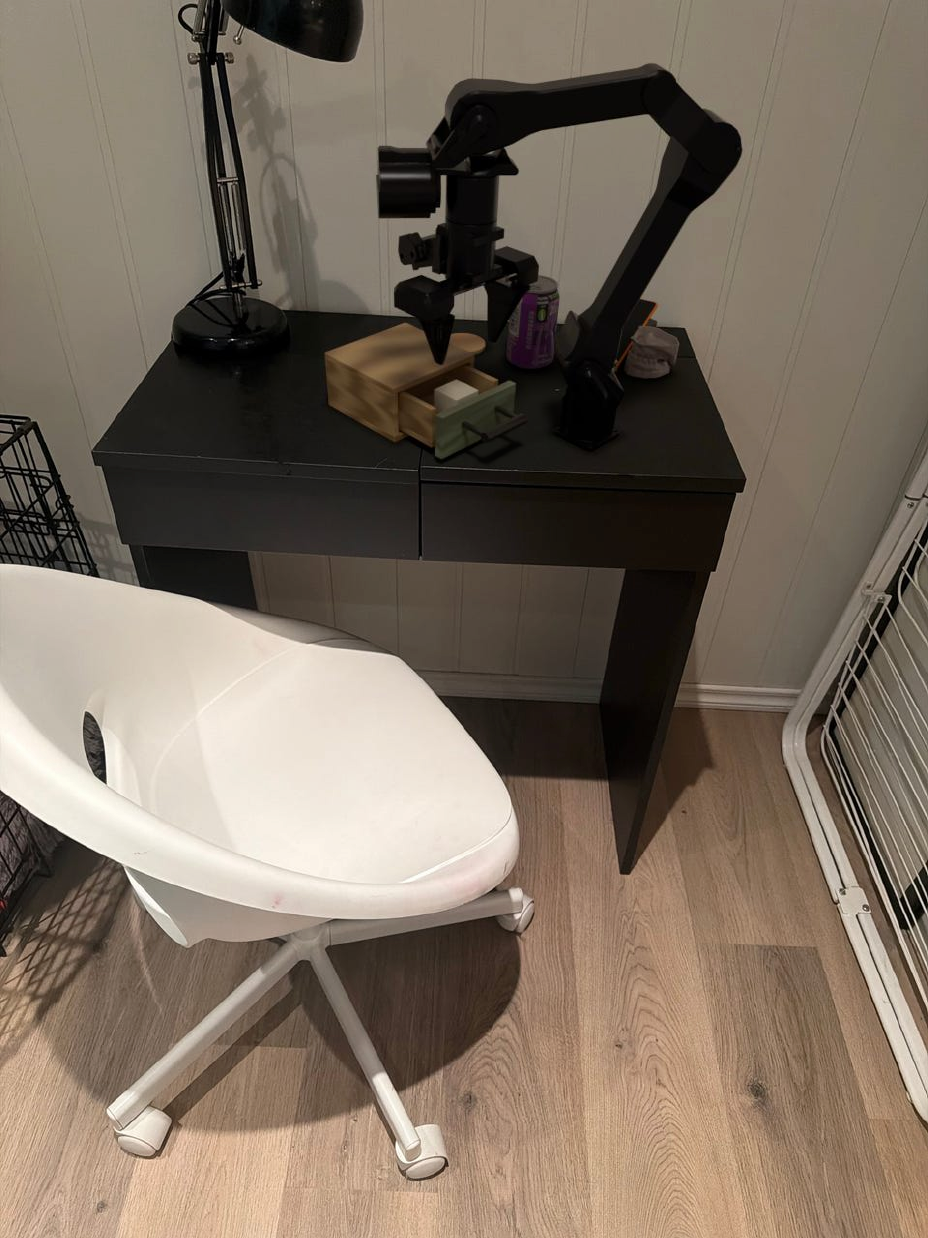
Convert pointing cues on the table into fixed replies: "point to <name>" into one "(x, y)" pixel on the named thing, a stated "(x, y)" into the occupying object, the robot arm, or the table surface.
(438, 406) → the block
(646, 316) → the smartphone
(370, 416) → the cabinet
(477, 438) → the drawer
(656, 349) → the dental mold
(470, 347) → the coaster
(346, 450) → the table surface
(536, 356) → the beverage can
